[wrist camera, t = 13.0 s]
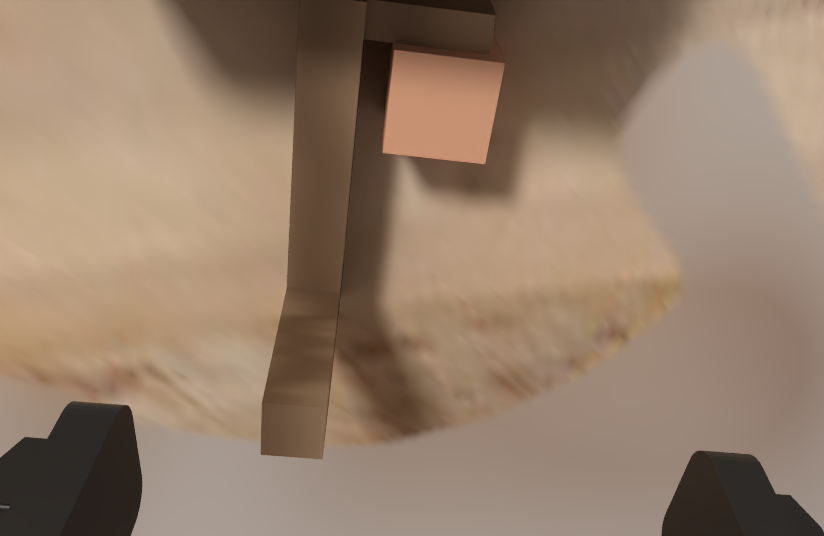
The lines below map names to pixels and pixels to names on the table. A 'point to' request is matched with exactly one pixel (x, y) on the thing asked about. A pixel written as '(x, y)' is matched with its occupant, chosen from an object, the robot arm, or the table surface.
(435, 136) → the cube
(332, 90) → the bent wooden plank
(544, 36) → the table surface
